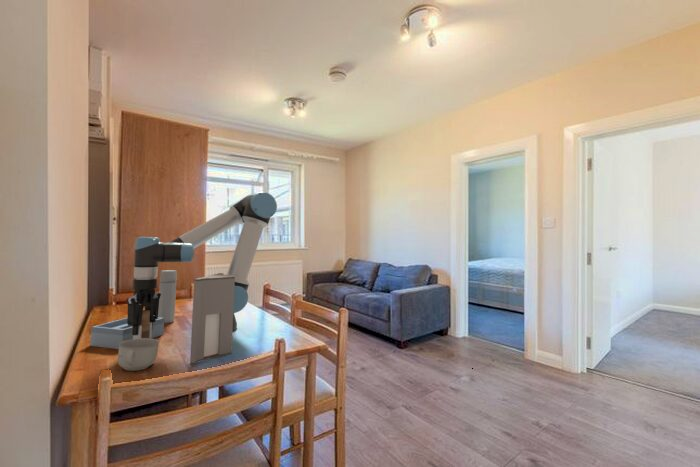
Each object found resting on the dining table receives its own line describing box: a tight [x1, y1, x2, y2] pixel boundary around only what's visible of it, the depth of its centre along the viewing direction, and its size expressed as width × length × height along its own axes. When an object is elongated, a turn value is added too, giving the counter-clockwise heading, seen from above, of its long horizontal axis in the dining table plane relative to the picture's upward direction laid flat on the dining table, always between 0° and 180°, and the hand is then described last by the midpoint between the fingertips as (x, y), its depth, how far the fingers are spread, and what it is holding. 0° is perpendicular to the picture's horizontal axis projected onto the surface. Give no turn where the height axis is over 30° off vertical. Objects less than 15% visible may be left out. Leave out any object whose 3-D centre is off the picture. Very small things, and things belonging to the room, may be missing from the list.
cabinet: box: [189, 272, 235, 366], centre depth 117 cm, size 21×10×28 cm, turn 1°
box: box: [89, 317, 165, 350], centre depth 129 cm, size 14×20×7 cm
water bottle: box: [158, 269, 178, 324], centre depth 158 cm, size 9×8×25 cm
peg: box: [140, 309, 150, 338], centre depth 119 cm, size 4×4×14 cm
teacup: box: [117, 338, 160, 372], centre depth 101 cm, size 14×11×8 cm
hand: (142, 341), depth 119 cm, fingers closed on peg, 4 cm apart
